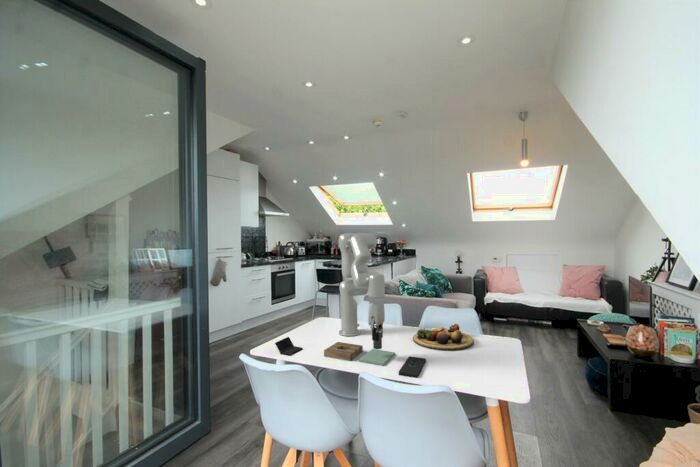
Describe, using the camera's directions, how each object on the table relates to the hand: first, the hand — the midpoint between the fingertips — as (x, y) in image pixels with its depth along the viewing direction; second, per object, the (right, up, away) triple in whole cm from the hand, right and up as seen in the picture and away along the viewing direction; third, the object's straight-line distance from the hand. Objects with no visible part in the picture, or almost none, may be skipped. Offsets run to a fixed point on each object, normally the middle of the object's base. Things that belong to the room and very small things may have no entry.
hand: (377, 338), depth 156 cm
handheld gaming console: (-44, -10, +11) cm, 46 cm away
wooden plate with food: (+38, -10, +24) cm, 46 cm away
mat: (0, -9, 0) cm, 9 cm away
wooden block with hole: (-16, -9, +6) cm, 20 cm away
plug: (0, -4, 0) cm, 4 cm away
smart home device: (+15, -10, -12) cm, 21 cm away
